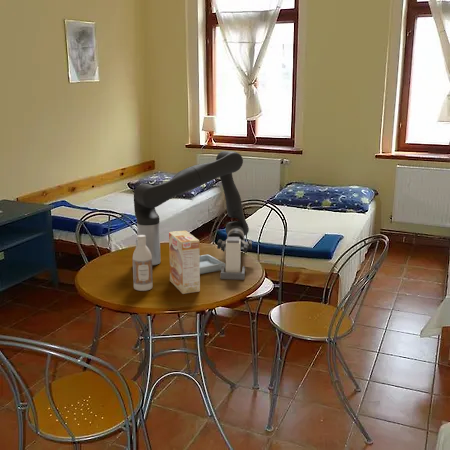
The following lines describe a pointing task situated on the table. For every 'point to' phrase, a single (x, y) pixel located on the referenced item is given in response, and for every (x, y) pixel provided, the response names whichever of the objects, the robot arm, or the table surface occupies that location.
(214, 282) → the table surface
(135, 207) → the robot arm
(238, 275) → the dock
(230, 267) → the box
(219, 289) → the table surface
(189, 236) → the coffeecake box
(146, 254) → the bath foam
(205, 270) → the tray
